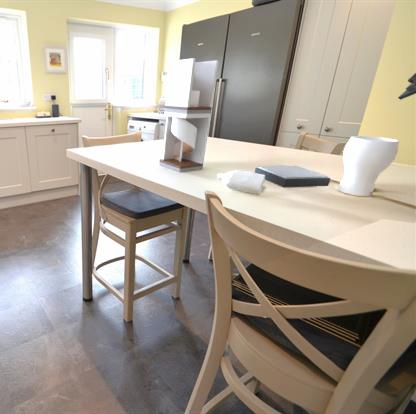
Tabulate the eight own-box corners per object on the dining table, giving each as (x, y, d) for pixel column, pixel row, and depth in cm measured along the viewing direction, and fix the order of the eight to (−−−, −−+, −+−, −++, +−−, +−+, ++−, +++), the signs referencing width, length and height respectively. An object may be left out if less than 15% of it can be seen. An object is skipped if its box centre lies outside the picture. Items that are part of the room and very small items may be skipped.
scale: (295, 173, 99) (298, 165, 97) (330, 185, 86) (334, 176, 85) (253, 174, 96) (255, 165, 95) (283, 187, 84) (286, 177, 82)
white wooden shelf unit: (159, 164, 107) (168, 61, 94) (181, 162, 111) (193, 63, 98) (179, 172, 98) (193, 58, 84) (202, 169, 102) (218, 60, 89)
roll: (218, 183, 86) (221, 165, 84) (261, 191, 80) (266, 172, 78) (212, 188, 81) (215, 169, 79) (258, 197, 75) (263, 176, 73)
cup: (338, 195, 78) (358, 140, 72) (325, 184, 87) (342, 134, 81) (387, 201, 74) (411, 143, 69) (368, 189, 83) (388, 137, 78)
